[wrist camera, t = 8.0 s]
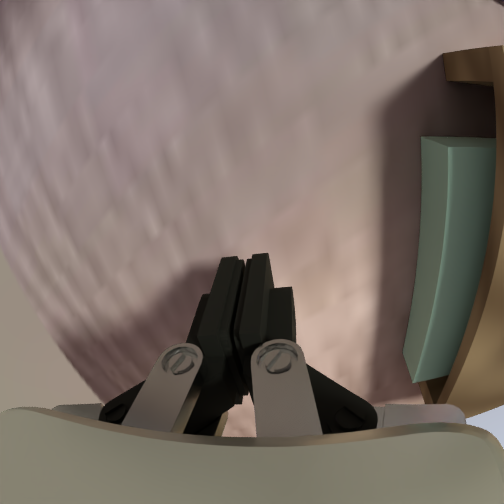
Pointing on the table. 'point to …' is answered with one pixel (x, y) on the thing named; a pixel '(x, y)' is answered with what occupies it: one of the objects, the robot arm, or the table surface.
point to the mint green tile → (449, 249)
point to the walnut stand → (493, 272)
